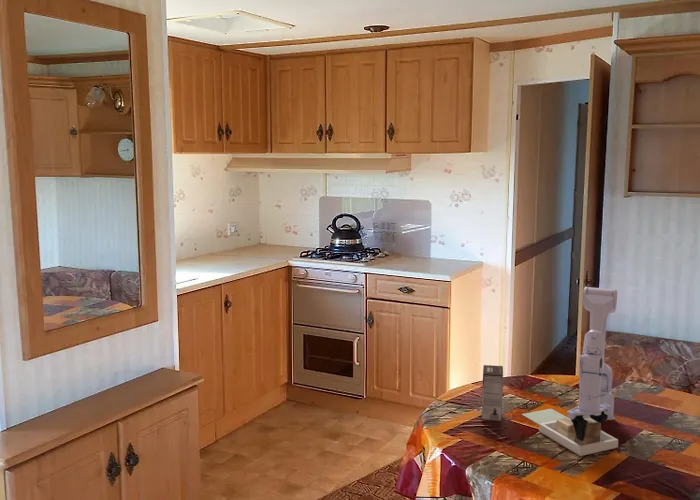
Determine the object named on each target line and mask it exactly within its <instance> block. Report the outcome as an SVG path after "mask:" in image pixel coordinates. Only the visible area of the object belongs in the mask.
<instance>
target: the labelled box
mask: <svg viewBox="0 0 700 500" xmlns="http://www.w3.org/2000/svg"><path fill="white" fill-rule="evenodd" d="M584 419H585V420H587V421H588V423H587V425H586V428H585V433H584V439H583V441H580V440H579V439H577V437H576V432H575V439H574V442H576V443H578V444H579V445H581V446H583V445H587V444H592V443H596V442H600V433H601V431H602V428H601V423H600V422H598V421H596V420H594V419H592V418H590V417H585V418H584Z"/></svg>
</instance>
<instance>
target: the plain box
mask: <svg viewBox="0 0 700 500" xmlns="http://www.w3.org/2000/svg"><path fill="white" fill-rule="evenodd" d="M566 417H567V416H566ZM556 432H558V433H560V434H561V435H563V436H565V437H566V438H572V437H575V428H574V425H573V423H572V421H571V419H570V418H568V417H567V418H562V419H557V425H556Z"/></svg>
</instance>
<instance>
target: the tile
mask: <svg viewBox="0 0 700 500" xmlns="http://www.w3.org/2000/svg"><path fill="white" fill-rule="evenodd" d="M521 416H523V417H525V418H527V419H528V420H530V421H531V422H533V423H535V424H537V425H538V426H539V424H541V423H546V422H551V421H556V420H557V419H562V418H567V415H566V416H565V415H564V414H562V413H560V412H558V411H557V410H554V409H553V408H547V409H543V410H535V411H531V412H526V413H521Z"/></svg>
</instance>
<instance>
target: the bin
mask: <svg viewBox="0 0 700 500" xmlns="http://www.w3.org/2000/svg"><path fill="white" fill-rule="evenodd" d="M556 425H557V420H556V421H551V422H546V423H541V424H539V425H538V427H539V429H538V432H539V433H542V434H543V435H545V436H546V437H548V438H549V439H551V440H553V441H554V442H556V443H558V444H559V445H561V446H562V447H564V448H566V449H568V450H569V451H571V452H572V453H574V454H576V455H577V456H579V457H583V456H586V455H591V454H594V453H601V452H603V451H608V450H613V449H617V448H619V438H616V437H614V436H612V435H610V434H609V433H606V432H605V431H603V430H601V433H600V442H596V443H592V444H587V445H583V446H581V445H579V444H578V443H576V442H574V439H575V437H572V438H566V437H565V436H563V435H561V434H560V433H558V432H556Z"/></svg>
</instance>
